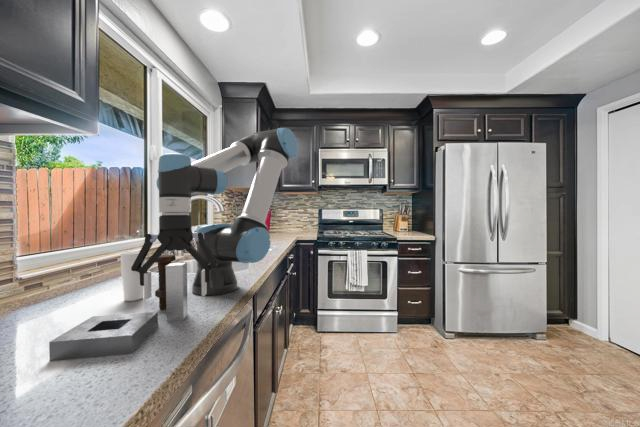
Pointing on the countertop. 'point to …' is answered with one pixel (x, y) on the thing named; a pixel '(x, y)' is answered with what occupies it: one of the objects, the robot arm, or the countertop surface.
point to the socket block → (104, 336)
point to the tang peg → (176, 291)
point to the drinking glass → (131, 277)
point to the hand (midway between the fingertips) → (176, 296)
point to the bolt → (163, 278)
